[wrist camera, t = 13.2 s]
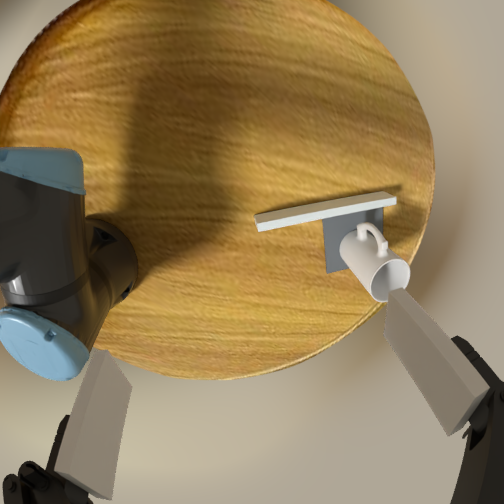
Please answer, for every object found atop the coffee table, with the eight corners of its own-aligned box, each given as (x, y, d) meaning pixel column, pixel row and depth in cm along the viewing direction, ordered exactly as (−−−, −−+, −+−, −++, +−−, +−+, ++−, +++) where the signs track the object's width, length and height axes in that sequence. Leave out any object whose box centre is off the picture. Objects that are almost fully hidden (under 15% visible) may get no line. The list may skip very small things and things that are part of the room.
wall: (255, 222, 43) (258, 231, 40) (253, 215, 43) (257, 223, 39) (383, 197, 44) (396, 204, 40) (383, 191, 43) (396, 197, 39)
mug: (373, 258, 48) (409, 292, 37) (340, 269, 48) (370, 308, 37) (368, 204, 43) (410, 230, 33) (332, 215, 44) (366, 245, 33)
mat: (326, 272, 48) (327, 273, 48) (321, 211, 44) (322, 212, 43) (381, 258, 48) (382, 259, 48) (381, 200, 44) (382, 201, 43)
